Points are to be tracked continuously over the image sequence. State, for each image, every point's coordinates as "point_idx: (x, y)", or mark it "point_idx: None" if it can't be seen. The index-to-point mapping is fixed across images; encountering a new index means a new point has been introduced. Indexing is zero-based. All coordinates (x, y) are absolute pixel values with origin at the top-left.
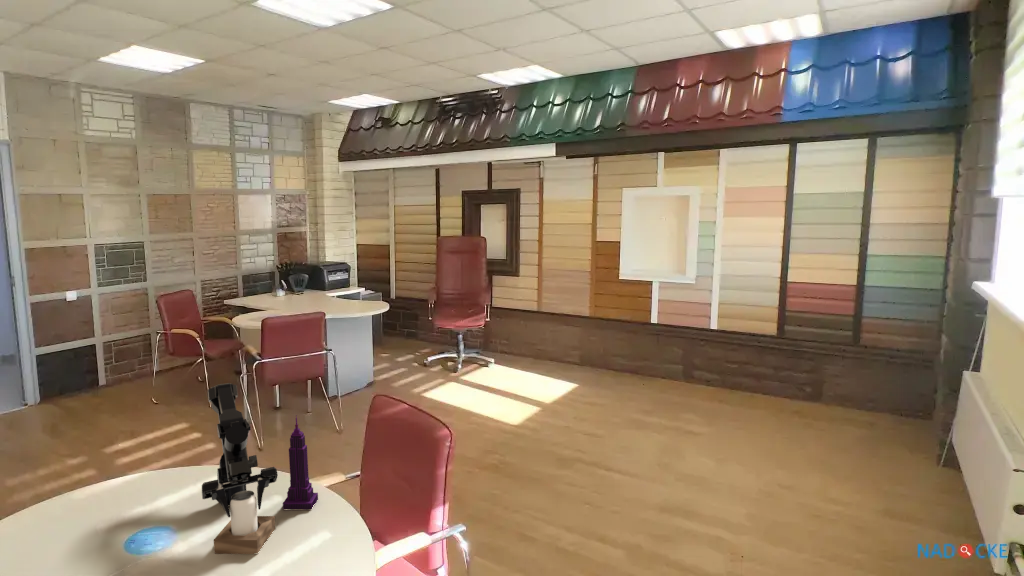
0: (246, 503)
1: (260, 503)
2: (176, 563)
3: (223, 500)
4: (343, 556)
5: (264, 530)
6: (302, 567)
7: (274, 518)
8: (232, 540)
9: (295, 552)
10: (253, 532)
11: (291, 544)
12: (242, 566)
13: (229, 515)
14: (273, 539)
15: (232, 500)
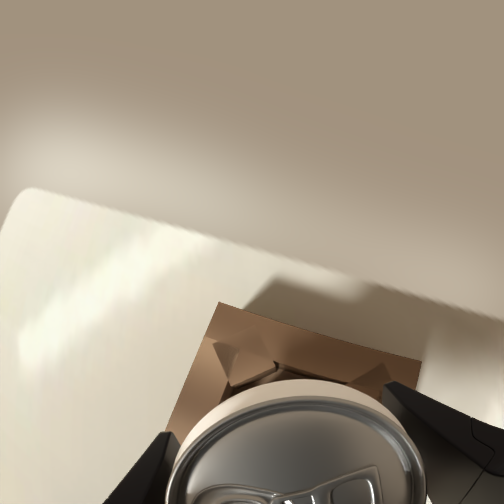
0: (251, 396)
1: (148, 451)
2: (490, 336)
3: (488, 439)
4: (30, 228)
5: (185, 381)
6: (111, 209)
7: None
8: (335, 339)
9: (110, 285)
10: (238, 378)
11: (114, 339)
12: (279, 261)
13: (389, 383)
14: (172, 403)
15: (408, 450)
